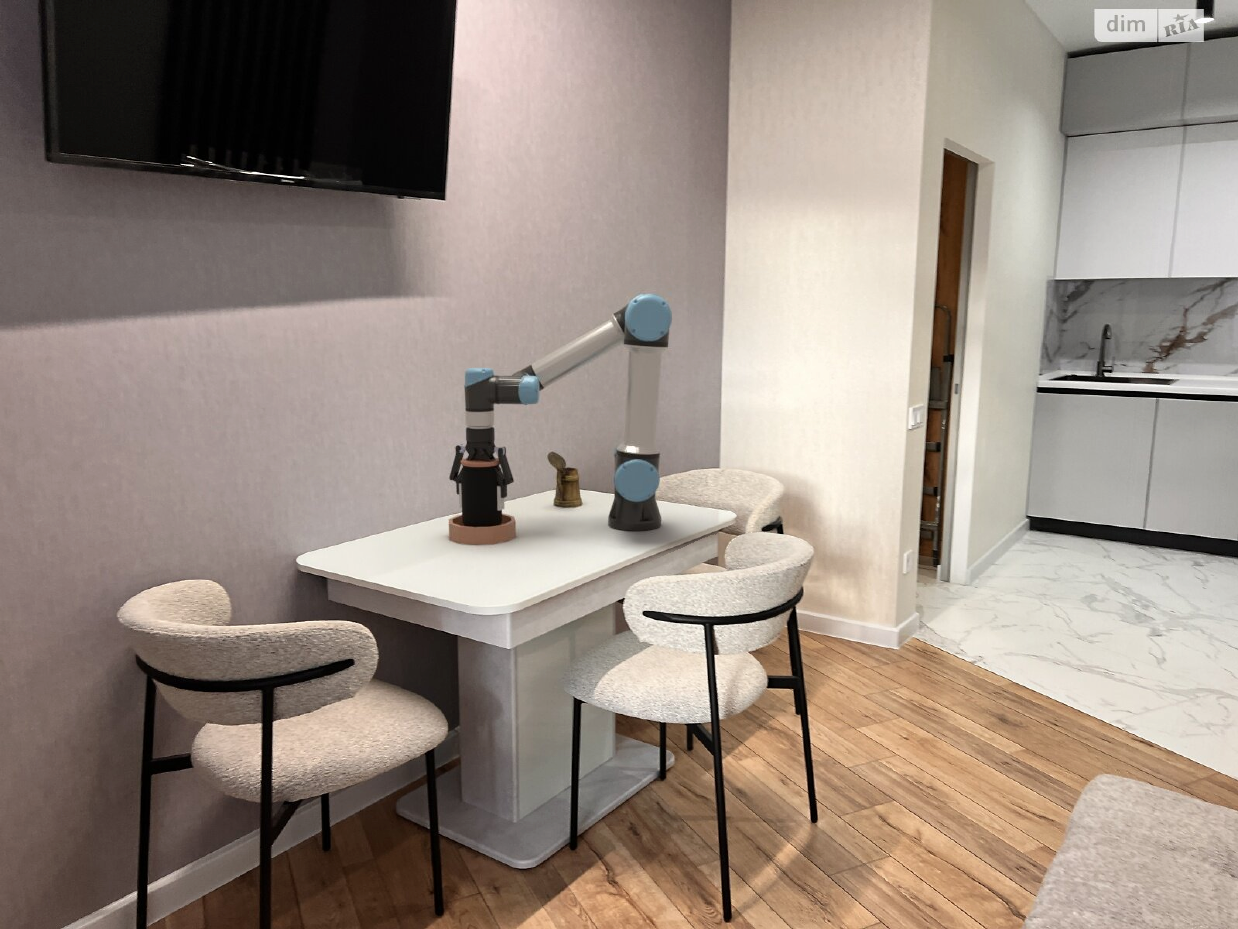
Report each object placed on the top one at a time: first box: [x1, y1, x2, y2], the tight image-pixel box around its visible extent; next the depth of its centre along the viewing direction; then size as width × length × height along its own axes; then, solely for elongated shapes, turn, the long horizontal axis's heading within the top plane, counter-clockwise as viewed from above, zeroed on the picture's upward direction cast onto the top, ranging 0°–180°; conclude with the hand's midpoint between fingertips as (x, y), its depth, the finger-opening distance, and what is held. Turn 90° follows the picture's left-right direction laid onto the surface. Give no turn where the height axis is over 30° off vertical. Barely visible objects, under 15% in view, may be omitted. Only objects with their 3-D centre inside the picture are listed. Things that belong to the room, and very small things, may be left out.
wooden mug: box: [546, 451, 583, 508], centre depth 288 cm, size 9×14×18 cm, turn 151°
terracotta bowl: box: [448, 512, 517, 546], centre depth 252 cm, size 18×18×4 cm
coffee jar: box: [460, 457, 503, 527], centre depth 251 cm, size 11×11×18 cm
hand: (482, 507), depth 251 cm, fingers closed on coffee jar, 11 cm apart
